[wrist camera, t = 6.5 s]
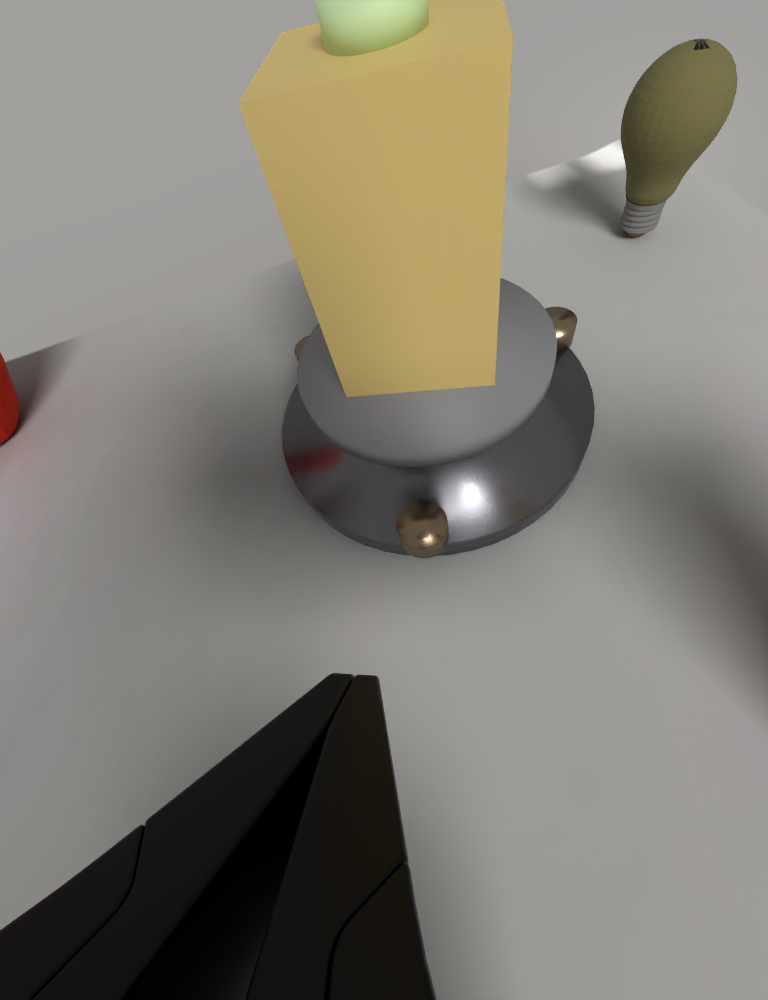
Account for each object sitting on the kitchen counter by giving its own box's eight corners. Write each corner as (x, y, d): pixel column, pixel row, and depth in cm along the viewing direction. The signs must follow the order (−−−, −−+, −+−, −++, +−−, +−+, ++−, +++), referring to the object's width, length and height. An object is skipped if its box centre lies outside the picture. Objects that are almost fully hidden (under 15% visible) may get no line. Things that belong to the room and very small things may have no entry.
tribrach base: (620, 569, 20) (646, 538, 17) (263, 569, 23) (231, 543, 20) (564, 307, 29) (574, 257, 26) (313, 336, 32) (297, 294, 29)
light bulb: (697, 238, 29) (788, 33, 21) (623, 267, 29) (684, 74, 21) (646, 204, 32) (708, 13, 24) (579, 230, 32) (617, 48, 24)
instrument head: (571, 460, 18) (736, -32, 7) (284, 473, 20) (50, 136, 9) (537, 275, 24) (591, -130, 13) (323, 303, 27) (213, -16, 16)
